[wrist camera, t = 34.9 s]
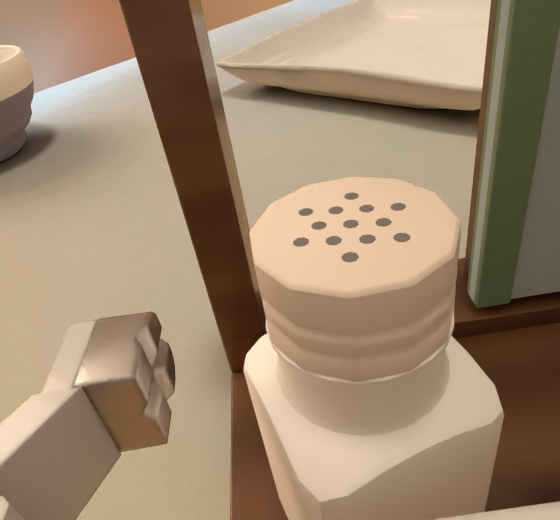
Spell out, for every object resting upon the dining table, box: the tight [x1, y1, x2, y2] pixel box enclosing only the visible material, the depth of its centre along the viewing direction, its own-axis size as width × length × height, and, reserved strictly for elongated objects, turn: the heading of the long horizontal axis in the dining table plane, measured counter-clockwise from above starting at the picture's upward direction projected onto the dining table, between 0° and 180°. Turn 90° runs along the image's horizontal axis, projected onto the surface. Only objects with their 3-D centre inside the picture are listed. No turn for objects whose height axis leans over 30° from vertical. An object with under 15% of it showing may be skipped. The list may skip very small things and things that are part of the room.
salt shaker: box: [243, 176, 504, 520], centre depth 10 cm, size 4×4×10 cm
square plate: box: [217, 0, 491, 110], centre depth 47 cm, size 27×27×4 cm
